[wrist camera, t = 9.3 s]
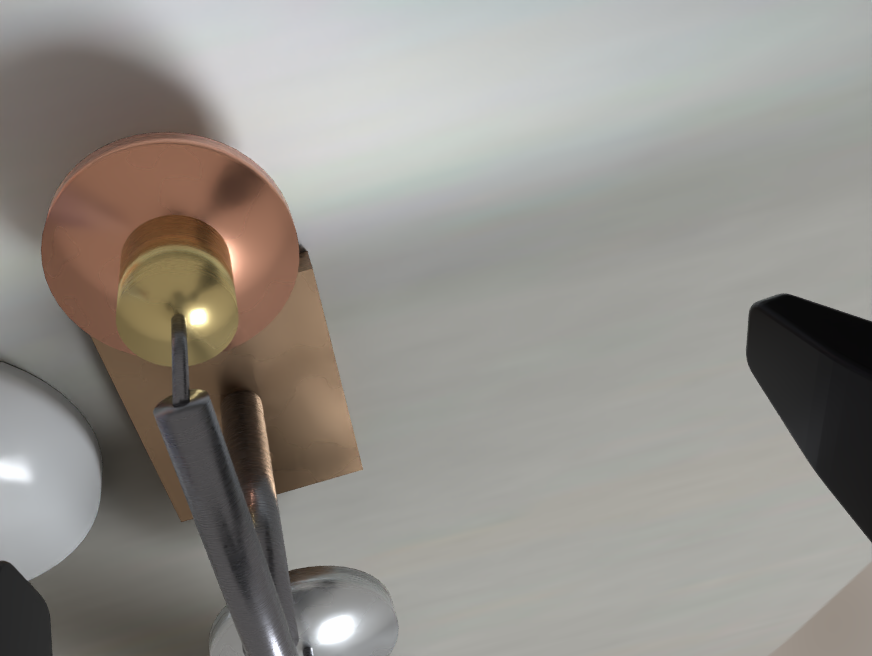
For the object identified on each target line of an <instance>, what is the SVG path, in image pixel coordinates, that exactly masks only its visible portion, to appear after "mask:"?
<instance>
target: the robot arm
mask: <svg viewBox="0 0 872 656" xmlns="http://www.w3.org/2000/svg"><path fill="white" fill-rule="evenodd" d="M746 357H747V362H748V365H749V367H750V370H751V372H752V373H753V375H754V377H755V378H756V380H757V381H758V383H759V385H760V386H761V388H762V389H763V391H764V392H765V394H766V396H767V397H768V399H769V400H770V402H771V404H772V405H773V407H774V408H775V410H776V411H777V413H778V415H779V416H780V418H781V419H782V421H783V422H784V424H785V426H786V427H787V429H788V430H789V432H790V434H791V435H792V437H793V438H794V440H795V441H796V443H797V445H798V446H799V448H800V449H801V451H802V452H803V454H804V456H805V457H806V459H807V460H808V462H809V463H810V464H811V466H812V467H813V469H814V470H815V472H816V473H817V474H818V476H819V477H820V478H821V480H822V481H823V482H824V484H825V485H826V486H827V488H828V489H829V490H830V491H831V493H832V494H833V495H834V496H835V497H836V499H837V500H838V501H839V502H840V504H841V505H842V506H843V507H844V509H845V510H846V511H847V512H848V514H849V515H850V516H851V517H852V519H853V520H854V521H855V522H856V524H857V525H858V526H859V527H860V529H861V530H862V531H863V532H864V534H865V535H866V536H867V537H868V539H869V540H870V541H871V542H872V321H869V320H866V319H863V318H860V317H857V316H854V315H851V314H848V313H845V312H842V311H839V310H836V309H833V308H830V307H827V306H824V305H821V304H818V303H815V302H812V301H809V300H806V299H803V298H800V297H797V296H794V295H790V294H778V295H775V296H772V297H769V298H766V299H763V300H760V301H757V302H755V303H754V304H753V305H752V306H751V308H750V310H749V318H748V332H747V346H746ZM0 656H52V641H51V624H50V614H49V610H48V607H47V604H46V602H45V601H44V599H43V598H42V596H41V595H40V594H39V593H38V592H37V591H36V590H35V589H34V587H33V586H32V585H31V584H30V583H29V582H28V581H27V580H26V579H25V578H24V577H23V575H22V574H21V573H20V572H19V571H18V570H17V569H16V568H15V567H14V566H13V565H12V564H11V563H9V562H7V561H4V560H1V561H0Z"/></svg>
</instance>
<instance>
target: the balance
mask: <svg viewBox="0 0 872 656" xmlns="http://www.w3.org/2000/svg"><path fill="white" fill-rule="evenodd" d="M41 255H42V265H43V270H44V274H45V278H46V281H47V283H48V285H49V288H50V290H51V293H52V294H53V296H54V298H55V299H56V301H57V303H58V304H59V306H60V307H61V308H62V309H63V311H64V312H65V313H66V314H67V316H68V317H69V318H70V319H71V320H72V321H73V322H74V323H75V324H77V325H78V326H79V327H80V328H81V329H82V330H84V331H85V332H86V333H88V334H89V335H90V336H91V338H92V340H93V342H94V344H95V346H96V348H97V350H98V352H99V355H100V357H101V359H102V361H103V363H104V365H105V367H106V369H107V371H108V373H109V375H110V377H111V379H112V381H113V383H114V385H115V387H116V389H117V391H118V393H119V395H120V398H121V400H122V402H123V404H124V406H125V408H126V410H127V412H128V414H129V416H130V418H131V420H132V422H133V424H134V426H135V428H136V430H137V432H138V434H139V436H140V438H141V441H142V443H143V445H144V447H145V449H146V451H147V453H148V455H149V457H150V459H151V461H152V463H153V465H154V467H155V469H156V471H157V473H158V475H159V477H160V479H161V481H162V484H163V486H164V488H165V490H166V492H167V494H168V496H169V498H170V500H171V502H172V504H173V506H174V508H175V510H176V512H177V514H178V516H179V518H180V520H181V522H184V521H187V520H191V519H194V521H195V523H196V526H197V529H198V531H199V534H200V536H201V539H202V542H203V544H204V547H205V549H206V552H207V555H208V557H209V560H210V562H211V565H212V567H213V570H214V573H215V575H216V578H217V580H218V583H219V586H220V588H221V591H222V593H223V596H224V599H225V601H226V604H227V605H226V606H225V607H224V608H223V609H222V610H221V612H220V613H219V615H218V616H217V617H216V619H215V621H214V623H213V625H212V627H211V631H210V634H209V653H210V656H389V654H390V653H391V651H392V650H393V648H394V645H395V643H396V640H397V637H398V629H399V627H398V621H397V617H396V613H395V610H394V606H393V602H392V599H391V596H390V594H389V592H388V590H387V589H386V587H385V586H384V585H383V584H382V583H381V582H380V581H379V580H377V579H376V578H375V577H373V576H371V575H369V574H367V573H365V572H362V571H359V570H356V569H352V568H347V567H339V566H315V567H306V568H300V569H295V570H291V571H288V565H287V559H286V553H285V546H284V540H283V533H282V527H281V521H280V514H279V508H278V502H277V494H280V493H284V492H287V491H290V490H294V489H297V488H301V487H304V486H308V485H311V484H315V483H318V482H321V481H325V480H328V479H332V478H335V477H339V476H342V475H346V474H349V473H352V472H356V471H359V470H363V468H362V464H361V460H360V456H359V452H358V448H357V444H356V440H355V436H354V432H353V428H352V424H351V420H350V416H349V412H348V408H347V404H346V400H345V396H344V392H343V388H342V384H341V380H340V376H339V372H338V368H337V364H336V360H335V356H334V352H333V348H332V344H331V340H330V336H329V332H328V328H327V324H326V320H325V316H324V312H323V308H322V304H321V300H320V296H319V292H318V288H317V284H316V280H315V276H314V272H313V269H312V265H311V262H310V259H309V255H308V252H307V251H305V252H301V253H299V244H298V238H297V233H296V229H295V226H294V222H293V219H292V216H291V213H290V210H289V207H288V204H287V202H286V200H285V198H284V196H283V194H282V192H281V191H280V190H279V188H278V187H277V185H276V184H275V182H274V181H273V180H272V179H271V177H270V176H269V175H268V174H267V173H266V172H265V171H264V170H263V169H262V168H261V167H260V166H259V165H257V164H256V163H255V162H254V161H253V160H251V159H250V158H248V157H247V156H245V155H244V154H242V153H241V152H239V151H238V150H236V149H234V148H232V147H229V146H227V145H225V144H223V143H221V142H218V141H215V140H212V139H209V138H206V137H202V136H197V135H192V134H187V133H176V132H154V133H147V134H140V135H134V136H131V137H127V138H124V139H120V140H117V141H115V142H113V143H110V144H108V145H106V146H103V147H102V148H100V149H98V150H96V151H95V152H93V153H91V154H90V155H88V156H87V157H86V158H85V159H83V160H82V161H81V162H80V163H78V164H77V165H76V166H75V167H74V168H73V169H72V170H71V171H70V172H69V174H68V175H67V176H66V177H65V178H64V180H63V181H62V183H61V184H60V186H59V187H58V189H57V190H56V193H55V195H54V197H53V199H52V201H51V204H50V207H49V211H48V215H47V219H46V223H45V227H44V231H43V235H42V246H41Z"/></svg>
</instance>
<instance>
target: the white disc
mask: <svg viewBox="0 0 872 656" xmlns="http://www.w3.org/2000/svg"><path fill="white" fill-rule="evenodd" d="M102 463H103V462H102V457H101V451H100V447H99V444H98V441H97V439H96V436H95V434H94V432H93V430H92V429H91V427H90V425H89V424H88V422H87V420H86V419H85V418H84V417H83V415H82V414H81V413H80V412H79V410H78V409H77V408H76V407H75V406H74V405H73V404H72V403H71V402H70V401H69V400H68V399H66V398H65V397H64V396H63V395H62V394H61V393H59V392H58V391H57V390H55V389H54V388H52V387H51V386H50V385H48V384H47V383H45V382H44V381H42V380H40V379H38V378H36V377H34V376H33V375H31V374H29V373H27V372H25V371H23V370H20V369H18V368H16V367H13V366H11V365H9V364H6V363H3V362H0V561H1V560H4V561H7V562H9V563H11V564H12V565H13V566H14V567H15V568H16V569H17V570H18V571H19V572H20V573H21V574H22V575H23V577H24V578H25V579H26V580H27V581H29V580H31V579H33V578H35V577H37V576H39V575H41V574H43V573H44V572H46V571H48V570H49V569H51V568H52V567H54V566H55V565H57V564H58V563H60V562H61V561H62V560H64V559H65V558H66V557H67V556H68V555H69V554H70V553H72V552H73V551H74V550H75V549H76V547H77V546H78V545H79V544H80V543H81V542H82V541H83V539H84V538H85V536H86V535H87V533H88V532H89V530H90V529H91V527H92V525H93V523H94V520H95V518H96V516H97V513H98V508H99V504H100V498H101V485H102Z"/></svg>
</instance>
